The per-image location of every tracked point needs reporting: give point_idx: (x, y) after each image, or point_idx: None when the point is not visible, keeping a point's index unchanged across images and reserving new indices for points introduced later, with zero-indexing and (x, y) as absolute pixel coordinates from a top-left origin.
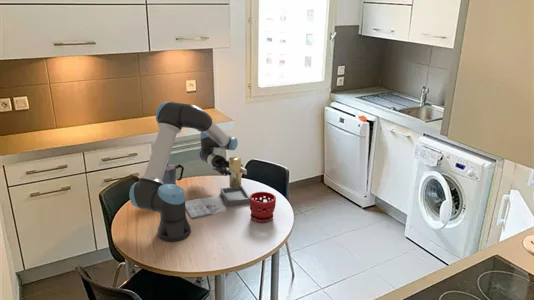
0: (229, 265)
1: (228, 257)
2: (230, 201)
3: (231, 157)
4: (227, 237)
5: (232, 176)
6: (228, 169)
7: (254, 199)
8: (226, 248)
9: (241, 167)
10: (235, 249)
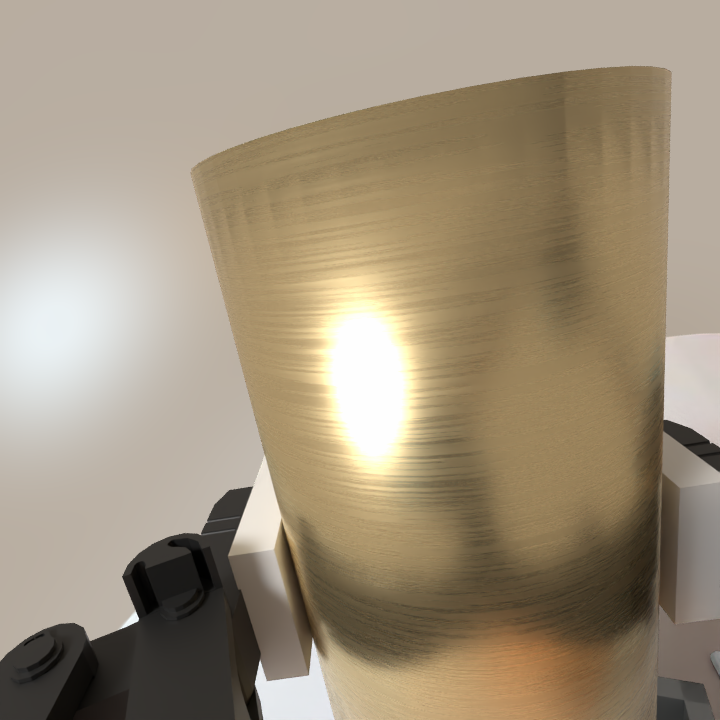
0: (702, 335)
1: (705, 350)
2: (662, 681)
3: (479, 90)
4: (710, 412)
5: None
6: (696, 482)
7: None
8: (716, 374)
9: (270, 477)
10: (669, 368)
